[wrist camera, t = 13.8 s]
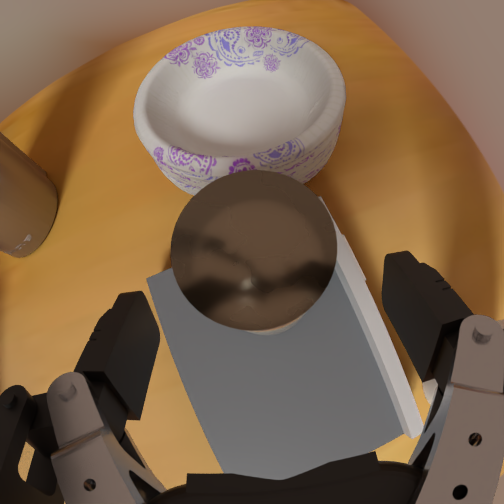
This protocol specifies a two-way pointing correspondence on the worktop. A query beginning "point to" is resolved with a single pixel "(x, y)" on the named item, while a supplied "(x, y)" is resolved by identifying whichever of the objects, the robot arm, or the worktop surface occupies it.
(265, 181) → the tea tin
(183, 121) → the paper bowls
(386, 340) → the display shelf
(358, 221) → the worktop surface
